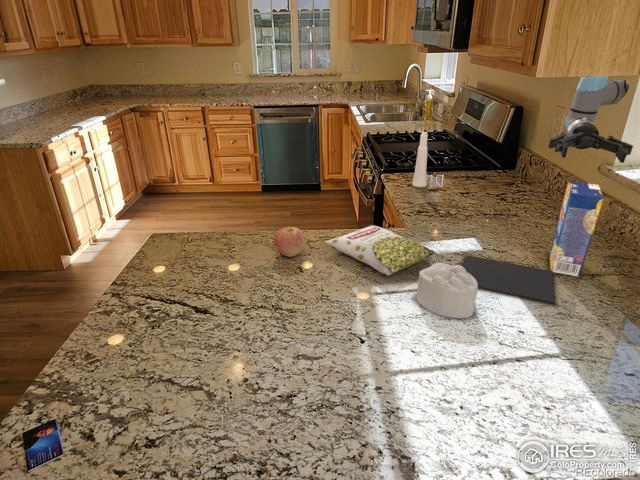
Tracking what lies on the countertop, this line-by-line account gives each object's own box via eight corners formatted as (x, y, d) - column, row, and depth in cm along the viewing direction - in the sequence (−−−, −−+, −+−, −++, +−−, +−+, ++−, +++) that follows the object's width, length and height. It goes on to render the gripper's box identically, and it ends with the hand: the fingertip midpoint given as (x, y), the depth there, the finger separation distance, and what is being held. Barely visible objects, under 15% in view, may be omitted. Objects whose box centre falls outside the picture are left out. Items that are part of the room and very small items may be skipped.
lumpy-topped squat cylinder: (437, 284, 108) (441, 254, 104) (483, 307, 99) (489, 275, 95) (410, 299, 102) (414, 268, 98) (457, 325, 93) (463, 291, 89)
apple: (286, 264, 118) (285, 238, 115) (269, 252, 124) (267, 227, 121) (311, 254, 123) (310, 229, 120) (293, 244, 129) (292, 220, 126)
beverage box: (576, 258, 120) (598, 184, 110) (579, 277, 111) (603, 197, 101) (549, 254, 122) (568, 181, 113) (550, 271, 113) (571, 193, 104)
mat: (552, 272, 113) (552, 270, 113) (553, 304, 100) (554, 302, 100) (466, 256, 121) (466, 255, 121) (457, 283, 108) (457, 281, 108)
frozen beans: (389, 265, 105) (322, 233, 122) (387, 285, 107) (322, 251, 124) (439, 243, 117) (372, 216, 134) (436, 261, 120) (371, 233, 137)
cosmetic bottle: (418, 181, 183) (423, 130, 173) (429, 185, 178) (435, 132, 169) (408, 184, 179) (413, 132, 170) (420, 188, 175) (425, 134, 165)
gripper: (540, 118, 131) (545, 137, 114) (634, 124, 123) (655, 145, 106) (534, 142, 135) (538, 163, 118) (626, 149, 127) (644, 173, 110)
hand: (593, 155), depth 112 cm, fingers open, 13 cm apart
